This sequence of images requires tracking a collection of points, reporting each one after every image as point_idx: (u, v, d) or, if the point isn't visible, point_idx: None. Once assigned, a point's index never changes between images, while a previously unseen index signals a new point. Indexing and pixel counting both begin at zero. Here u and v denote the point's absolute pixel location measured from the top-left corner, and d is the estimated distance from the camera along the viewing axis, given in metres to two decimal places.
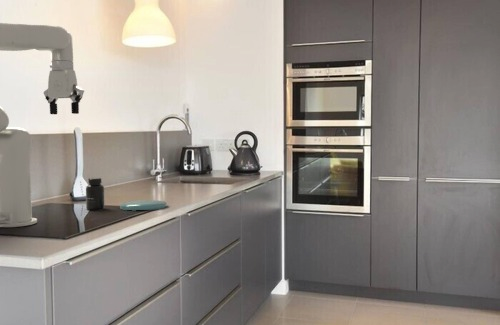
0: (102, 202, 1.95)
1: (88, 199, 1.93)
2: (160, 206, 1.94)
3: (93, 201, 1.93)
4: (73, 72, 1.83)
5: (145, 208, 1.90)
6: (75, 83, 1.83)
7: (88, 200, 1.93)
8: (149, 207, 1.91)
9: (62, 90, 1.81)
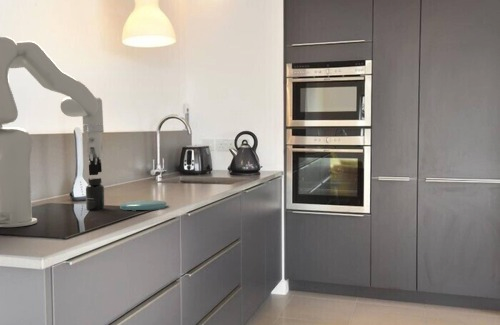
0: (102, 202, 1.95)
1: (88, 199, 1.93)
2: (160, 206, 1.94)
3: (93, 201, 1.93)
4: None
5: (145, 208, 1.90)
6: None
7: (88, 200, 1.93)
8: (149, 207, 1.91)
9: (102, 151, 1.98)
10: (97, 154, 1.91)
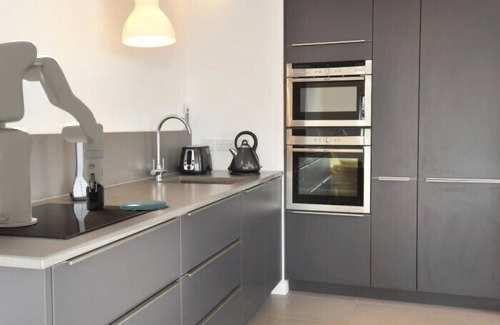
0: (102, 202, 1.95)
1: (88, 199, 1.93)
2: (160, 206, 1.94)
3: None
4: None
5: (145, 208, 1.90)
6: None
7: (88, 200, 1.93)
8: (149, 207, 1.91)
9: (102, 177, 1.98)
10: (97, 180, 1.91)
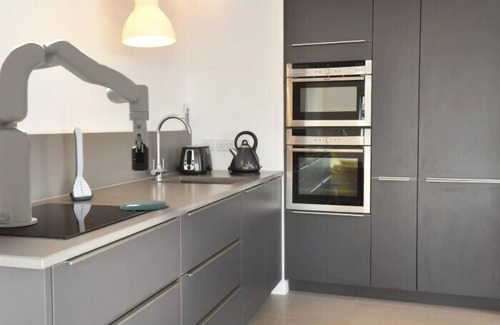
0: (147, 163, 1.97)
1: (134, 160, 1.95)
2: (160, 206, 1.94)
3: None
4: None
5: (145, 208, 1.90)
6: None
7: (134, 161, 1.95)
8: (149, 207, 1.91)
9: None
10: (143, 141, 1.92)
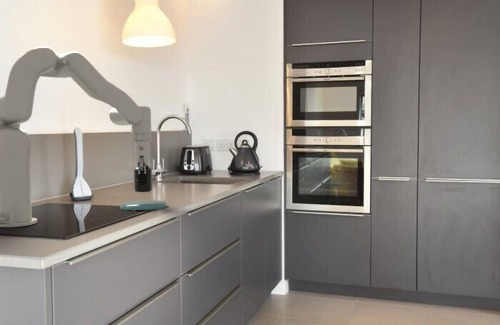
0: (150, 184, 1.97)
1: (137, 181, 1.95)
2: (160, 206, 1.94)
3: None
4: None
5: (145, 208, 1.90)
6: None
7: (137, 182, 1.95)
8: (149, 207, 1.91)
9: None
10: (146, 162, 1.93)
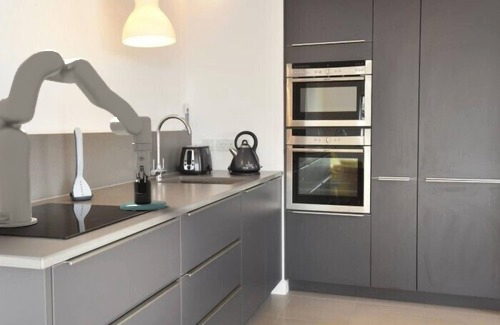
0: (150, 197, 1.97)
1: (136, 194, 1.96)
2: (160, 206, 1.94)
3: (141, 195, 1.95)
4: None
5: (145, 208, 1.90)
6: None
7: (136, 195, 1.96)
8: (149, 207, 1.91)
9: None
10: (146, 172, 1.93)
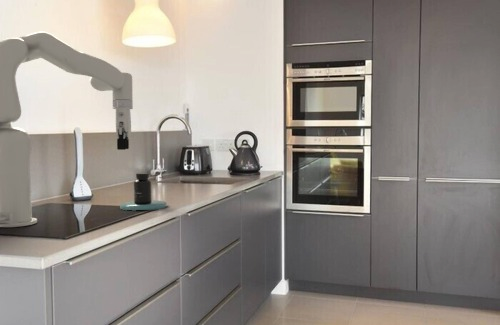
0: (150, 197, 1.97)
1: (136, 194, 1.96)
2: (160, 206, 1.94)
3: (141, 195, 1.95)
4: None
5: (145, 208, 1.90)
6: None
7: (136, 195, 1.96)
8: (149, 207, 1.91)
9: None
10: (126, 129, 1.91)
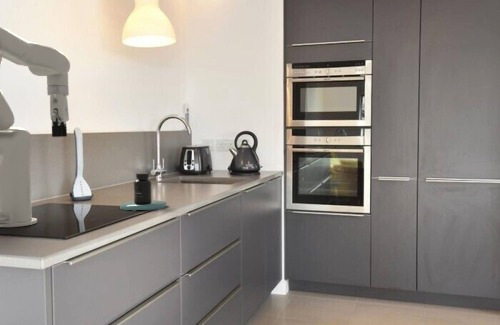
0: (150, 197, 1.97)
1: (136, 194, 1.96)
2: (160, 206, 1.94)
3: (141, 195, 1.95)
4: None
5: (145, 208, 1.90)
6: None
7: (136, 195, 1.96)
8: (149, 207, 1.91)
9: (67, 114, 1.93)
10: (60, 115, 1.86)
